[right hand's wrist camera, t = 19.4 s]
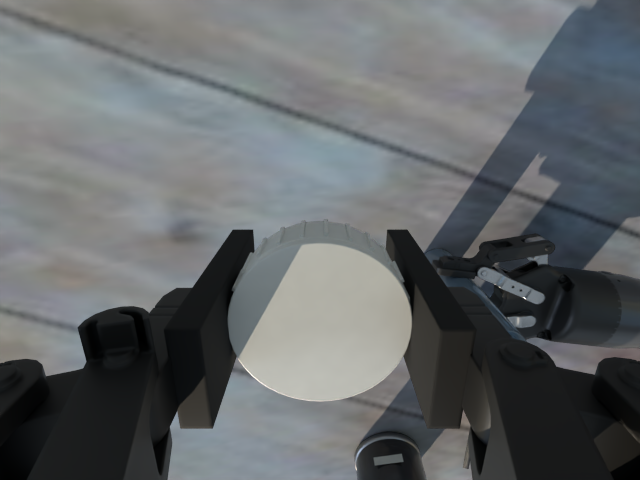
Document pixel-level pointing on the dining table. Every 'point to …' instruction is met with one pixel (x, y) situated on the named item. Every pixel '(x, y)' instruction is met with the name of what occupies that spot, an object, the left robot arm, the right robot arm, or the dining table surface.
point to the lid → (319, 312)
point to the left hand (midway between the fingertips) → (428, 289)
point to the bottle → (474, 287)
